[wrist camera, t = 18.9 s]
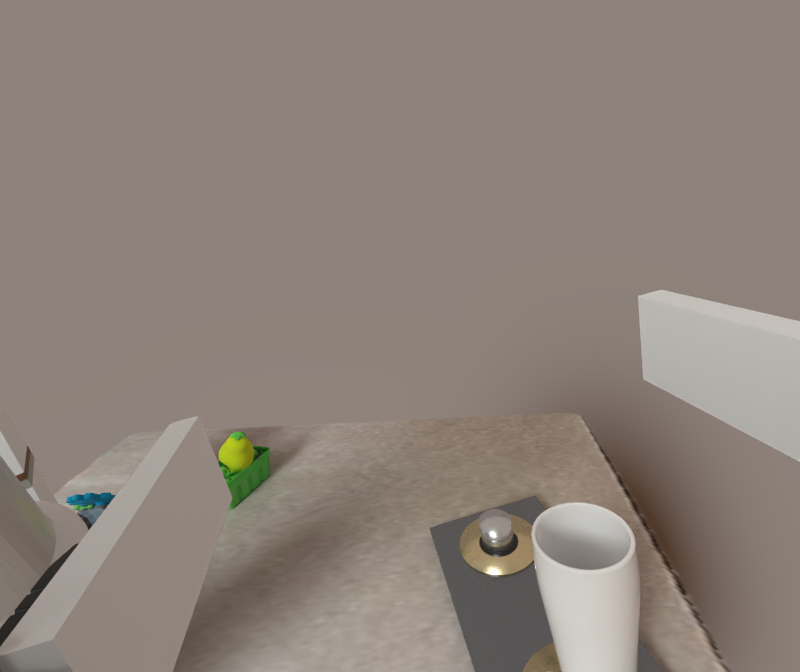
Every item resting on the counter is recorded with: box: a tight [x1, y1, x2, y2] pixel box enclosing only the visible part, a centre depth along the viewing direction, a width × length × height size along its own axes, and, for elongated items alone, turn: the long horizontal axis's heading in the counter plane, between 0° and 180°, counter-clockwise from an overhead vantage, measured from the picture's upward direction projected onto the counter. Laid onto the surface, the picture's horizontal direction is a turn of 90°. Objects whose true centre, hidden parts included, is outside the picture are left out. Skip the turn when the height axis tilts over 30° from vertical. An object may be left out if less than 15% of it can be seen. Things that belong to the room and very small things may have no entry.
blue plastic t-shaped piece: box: [67, 493, 116, 513], centre depth 74 cm, size 11×6×10 cm
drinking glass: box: [531, 502, 640, 672], centre depth 32 cm, size 7×7×15 cm
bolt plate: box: [430, 496, 662, 672], centre depth 42 cm, size 28×14×4 cm, turn 10°
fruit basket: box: [218, 431, 270, 509], centre depth 73 cm, size 11×9×11 cm
